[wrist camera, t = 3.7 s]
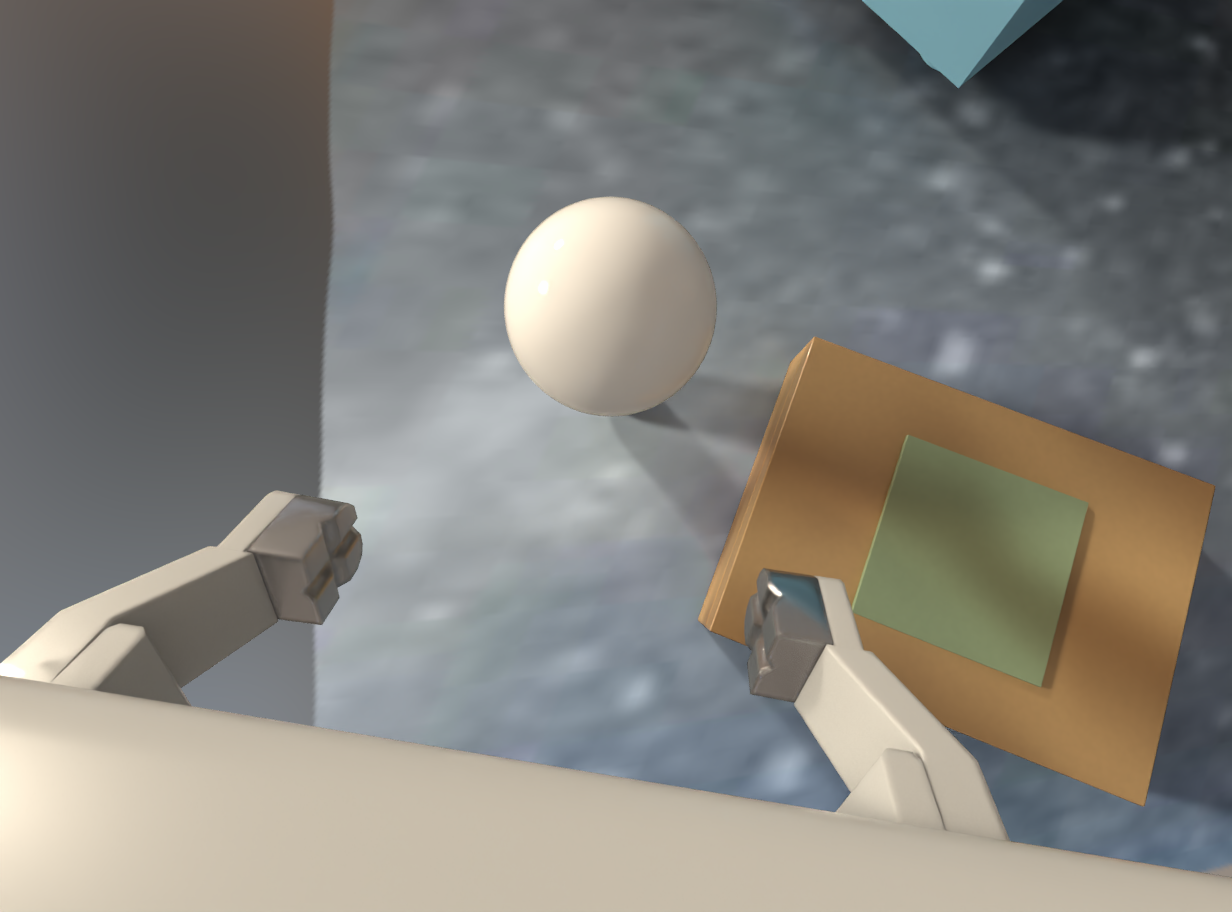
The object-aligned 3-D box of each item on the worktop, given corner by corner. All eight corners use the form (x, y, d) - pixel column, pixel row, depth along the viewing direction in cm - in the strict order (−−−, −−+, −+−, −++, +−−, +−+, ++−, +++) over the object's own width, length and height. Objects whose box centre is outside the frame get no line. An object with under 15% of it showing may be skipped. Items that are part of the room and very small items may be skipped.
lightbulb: (710, 364, 25) (784, 225, 14) (632, 484, 24) (649, 431, 13) (590, 291, 26) (575, 102, 15) (510, 405, 25) (431, 293, 14)
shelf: (1075, 774, 23) (1150, 810, 19) (696, 620, 23) (710, 631, 20) (1143, 493, 24) (1222, 484, 21) (790, 360, 25) (815, 333, 22)
